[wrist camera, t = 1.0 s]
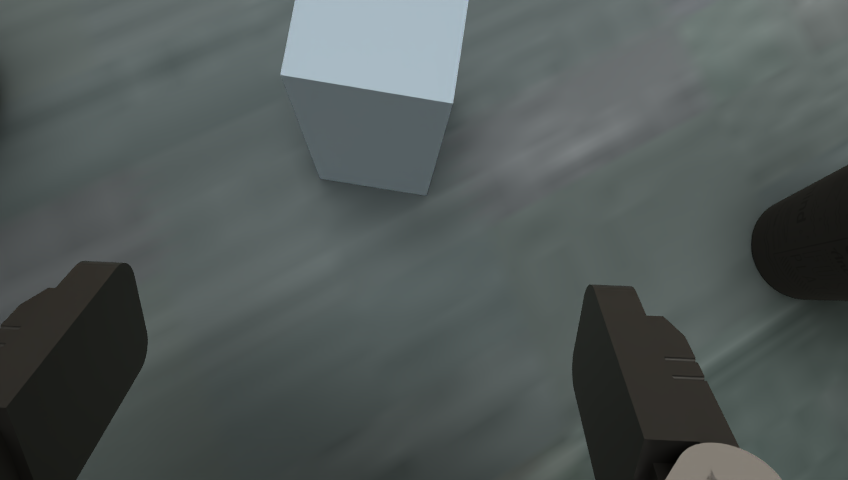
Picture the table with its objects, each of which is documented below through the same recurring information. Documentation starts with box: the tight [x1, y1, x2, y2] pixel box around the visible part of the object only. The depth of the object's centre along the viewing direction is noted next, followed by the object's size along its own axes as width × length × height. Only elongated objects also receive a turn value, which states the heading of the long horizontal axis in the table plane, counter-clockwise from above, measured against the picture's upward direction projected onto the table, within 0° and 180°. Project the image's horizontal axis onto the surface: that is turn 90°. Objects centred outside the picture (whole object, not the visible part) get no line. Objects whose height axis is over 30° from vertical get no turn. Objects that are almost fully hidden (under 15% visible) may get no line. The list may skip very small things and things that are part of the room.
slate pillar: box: [281, 0, 469, 196], centre depth 25 cm, size 5×5×12 cm
